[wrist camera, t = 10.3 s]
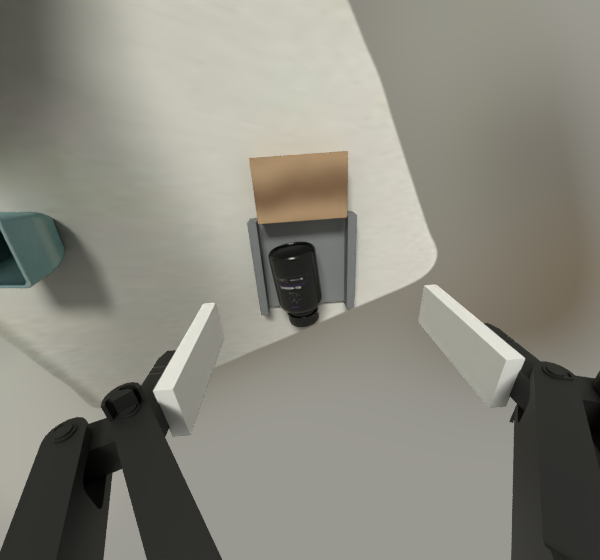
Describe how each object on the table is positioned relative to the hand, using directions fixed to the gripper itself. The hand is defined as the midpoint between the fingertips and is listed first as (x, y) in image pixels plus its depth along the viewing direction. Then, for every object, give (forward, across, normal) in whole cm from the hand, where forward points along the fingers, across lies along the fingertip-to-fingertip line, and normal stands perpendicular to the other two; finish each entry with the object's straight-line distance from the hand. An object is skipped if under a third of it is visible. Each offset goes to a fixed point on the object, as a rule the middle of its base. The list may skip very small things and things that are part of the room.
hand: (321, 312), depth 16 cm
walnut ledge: (+25, 0, +5) cm, 25 cm away
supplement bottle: (+21, -2, -2) cm, 21 cm away
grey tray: (+25, 0, -6) cm, 25 cm away
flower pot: (+25, -38, +1) cm, 45 cm away
